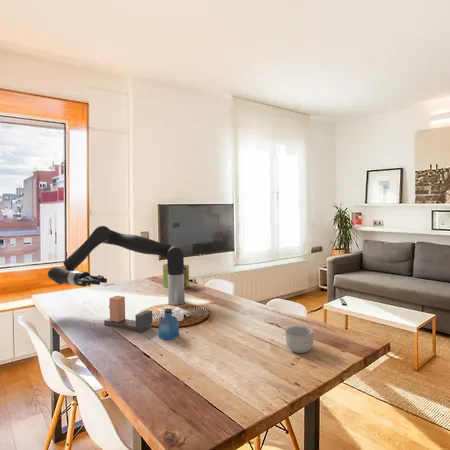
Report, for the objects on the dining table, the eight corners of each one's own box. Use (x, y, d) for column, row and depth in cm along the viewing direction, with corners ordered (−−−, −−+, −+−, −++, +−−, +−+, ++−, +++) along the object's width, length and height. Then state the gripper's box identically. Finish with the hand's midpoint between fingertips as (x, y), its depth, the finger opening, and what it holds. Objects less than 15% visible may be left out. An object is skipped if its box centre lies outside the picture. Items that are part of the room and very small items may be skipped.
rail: (102, 324, 166) (102, 308, 165) (115, 319, 173) (114, 304, 173) (141, 333, 155) (140, 315, 154) (152, 327, 162) (152, 310, 161)
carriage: (108, 320, 166) (107, 297, 165) (116, 317, 171) (115, 295, 170) (117, 322, 163) (117, 299, 162) (125, 319, 168) (124, 296, 167)
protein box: (179, 289, 232) (179, 266, 231) (162, 286, 240) (162, 264, 239) (189, 286, 241) (189, 264, 240) (172, 283, 249) (172, 262, 248)
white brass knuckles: (194, 318, 175) (169, 325, 165) (176, 310, 189) (151, 316, 179) (194, 312, 174) (169, 318, 165) (175, 304, 188) (151, 310, 179)
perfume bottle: (178, 335, 152) (178, 308, 152) (170, 340, 147) (170, 312, 146) (167, 333, 155) (166, 306, 154) (158, 338, 149) (158, 310, 149)
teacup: (307, 358, 128) (308, 337, 128) (280, 352, 134) (280, 332, 134) (319, 345, 140) (319, 325, 140) (293, 339, 146) (293, 321, 145)
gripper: (66, 273, 171) (91, 277, 163) (90, 268, 184) (113, 271, 176) (67, 288, 172) (91, 292, 164) (90, 282, 184) (114, 286, 176)
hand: (102, 281), depth 170 cm, fingers open, 3 cm apart
